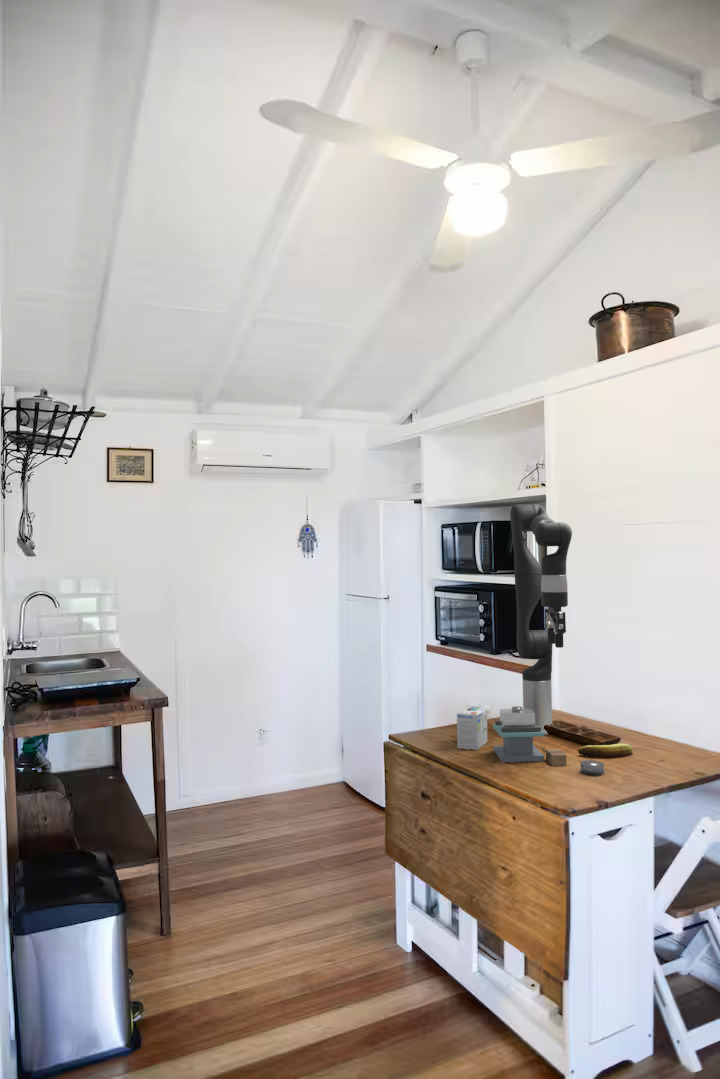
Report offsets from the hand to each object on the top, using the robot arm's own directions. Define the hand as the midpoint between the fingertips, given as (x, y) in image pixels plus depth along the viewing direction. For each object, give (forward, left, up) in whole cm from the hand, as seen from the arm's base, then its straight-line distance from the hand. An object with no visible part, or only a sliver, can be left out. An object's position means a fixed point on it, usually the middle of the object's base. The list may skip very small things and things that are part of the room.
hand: (555, 645), depth 216 cm
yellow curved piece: (+2, +14, -32) cm, 35 cm away
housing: (+2, -12, -24) cm, 26 cm away
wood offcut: (+9, -3, -32) cm, 33 cm away
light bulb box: (-11, -23, -32) cm, 41 cm away
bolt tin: (+19, +4, -32) cm, 37 cm away
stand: (+2, -12, -32) cm, 34 cm away
